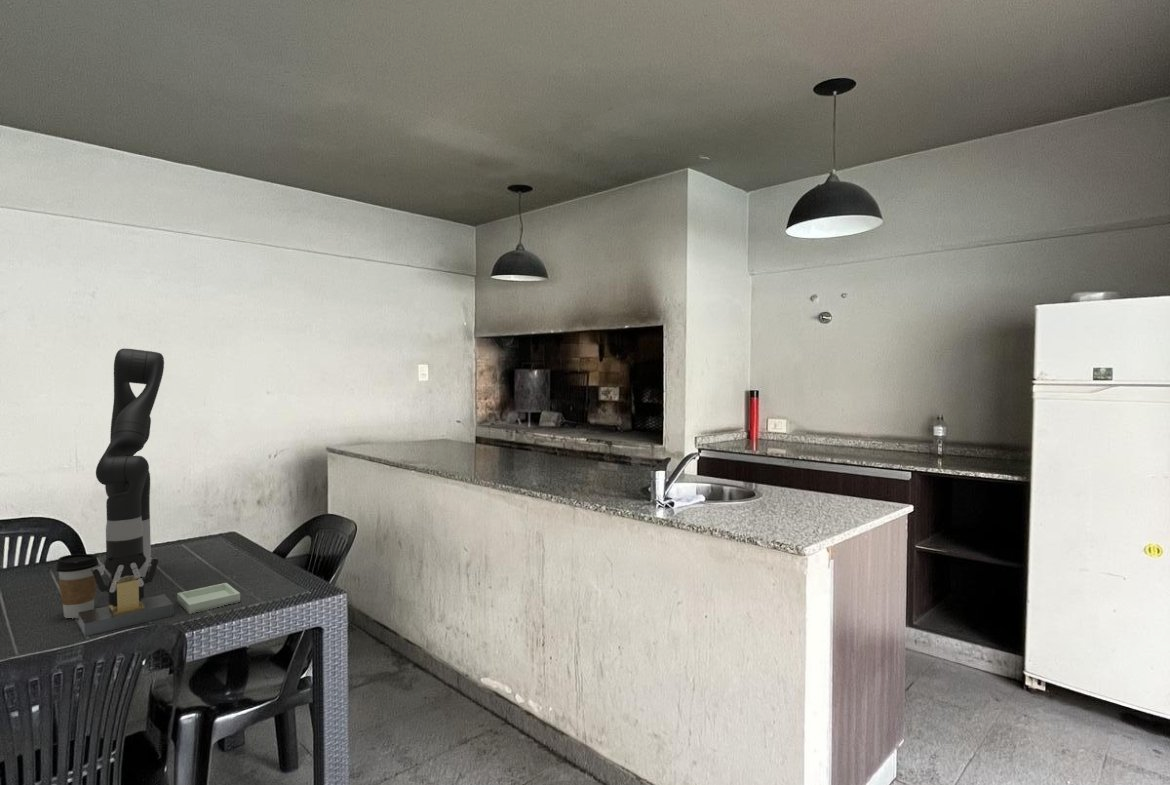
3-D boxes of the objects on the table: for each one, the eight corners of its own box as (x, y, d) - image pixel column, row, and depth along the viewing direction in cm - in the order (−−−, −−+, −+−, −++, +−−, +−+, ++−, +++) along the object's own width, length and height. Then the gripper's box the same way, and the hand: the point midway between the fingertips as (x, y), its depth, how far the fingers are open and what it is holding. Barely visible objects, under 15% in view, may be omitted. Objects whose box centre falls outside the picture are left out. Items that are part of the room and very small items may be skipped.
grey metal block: (78, 624, 157) (78, 612, 156) (164, 605, 169) (164, 594, 169) (84, 636, 150) (84, 623, 149) (173, 615, 162) (173, 603, 162)
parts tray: (177, 602, 171) (177, 593, 171) (226, 591, 180) (226, 582, 180) (189, 614, 163) (189, 604, 163) (240, 602, 171) (240, 593, 171)
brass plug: (109, 619, 159) (107, 579, 159) (139, 612, 164) (138, 573, 164) (113, 626, 155) (112, 585, 155) (145, 619, 159) (144, 579, 159)
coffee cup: (73, 608, 167) (71, 552, 166) (107, 607, 167) (105, 551, 167) (49, 621, 158) (47, 562, 158) (85, 620, 159) (83, 561, 159)
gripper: (155, 528, 166) (156, 592, 167) (86, 538, 156) (88, 606, 157) (161, 533, 161) (163, 599, 162) (91, 544, 151) (93, 615, 152)
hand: (126, 603), depth 159 cm, fingers closed on brass plug, 4 cm apart
